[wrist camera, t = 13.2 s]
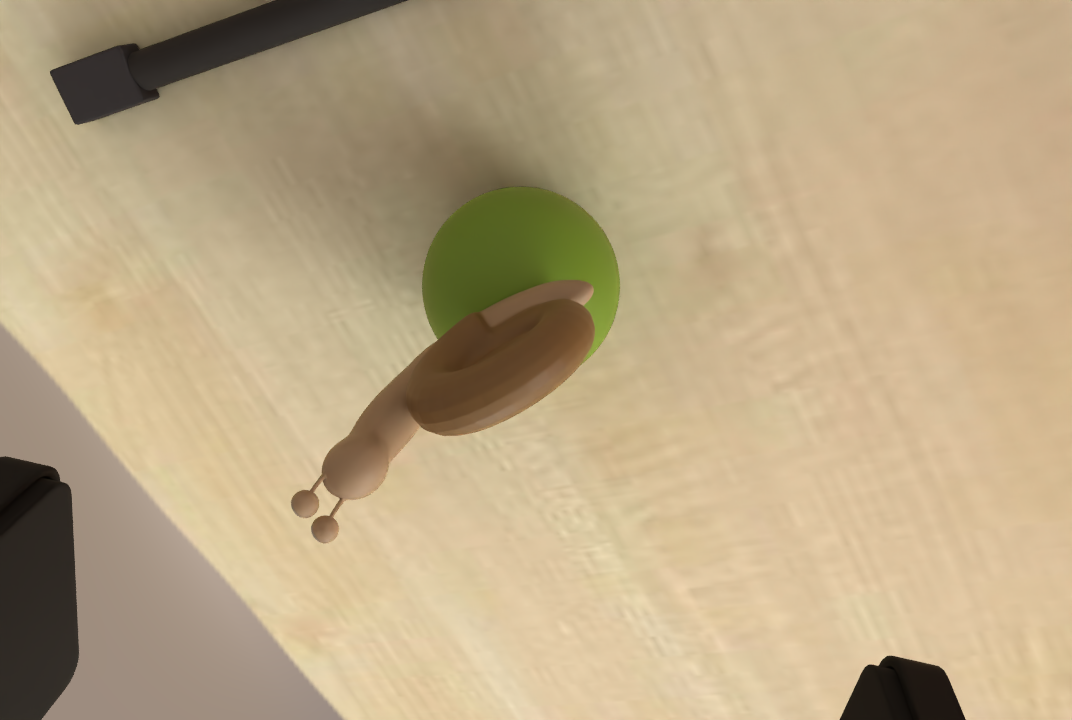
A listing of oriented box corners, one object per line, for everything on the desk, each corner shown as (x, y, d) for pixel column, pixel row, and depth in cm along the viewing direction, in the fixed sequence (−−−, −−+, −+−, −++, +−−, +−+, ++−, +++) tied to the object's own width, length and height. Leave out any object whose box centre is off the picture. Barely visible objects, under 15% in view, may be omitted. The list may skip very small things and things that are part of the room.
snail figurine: (384, 241, 27) (210, 420, 17) (563, 133, 26) (500, 254, 15) (479, 382, 29) (378, 630, 18) (654, 290, 27) (660, 505, 16)
